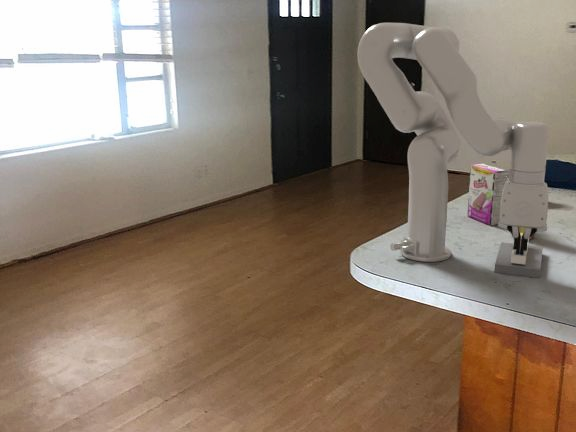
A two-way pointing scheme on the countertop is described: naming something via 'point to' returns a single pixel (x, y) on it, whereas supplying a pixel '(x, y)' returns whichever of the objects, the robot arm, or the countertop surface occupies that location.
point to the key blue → (518, 258)
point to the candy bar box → (485, 193)
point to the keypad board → (528, 269)
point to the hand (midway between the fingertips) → (519, 252)
